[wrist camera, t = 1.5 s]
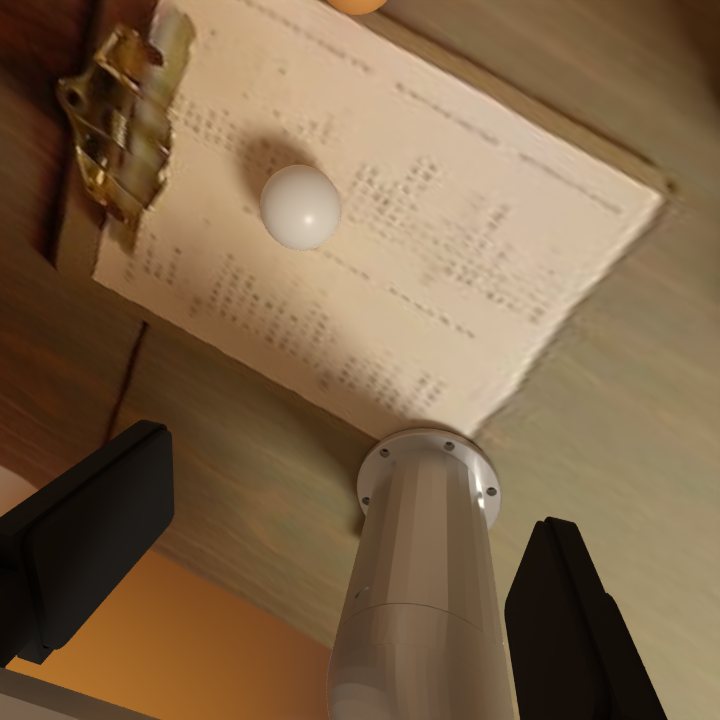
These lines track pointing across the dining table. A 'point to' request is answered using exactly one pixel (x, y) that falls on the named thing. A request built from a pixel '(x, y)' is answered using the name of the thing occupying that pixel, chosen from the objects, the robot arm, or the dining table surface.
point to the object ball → (357, 6)
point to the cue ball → (300, 207)
